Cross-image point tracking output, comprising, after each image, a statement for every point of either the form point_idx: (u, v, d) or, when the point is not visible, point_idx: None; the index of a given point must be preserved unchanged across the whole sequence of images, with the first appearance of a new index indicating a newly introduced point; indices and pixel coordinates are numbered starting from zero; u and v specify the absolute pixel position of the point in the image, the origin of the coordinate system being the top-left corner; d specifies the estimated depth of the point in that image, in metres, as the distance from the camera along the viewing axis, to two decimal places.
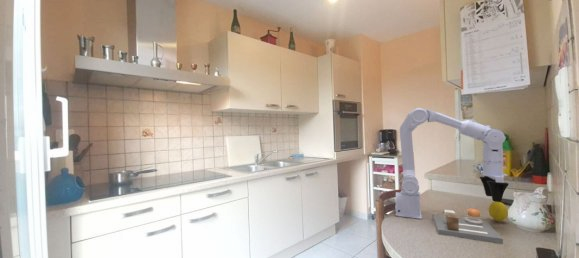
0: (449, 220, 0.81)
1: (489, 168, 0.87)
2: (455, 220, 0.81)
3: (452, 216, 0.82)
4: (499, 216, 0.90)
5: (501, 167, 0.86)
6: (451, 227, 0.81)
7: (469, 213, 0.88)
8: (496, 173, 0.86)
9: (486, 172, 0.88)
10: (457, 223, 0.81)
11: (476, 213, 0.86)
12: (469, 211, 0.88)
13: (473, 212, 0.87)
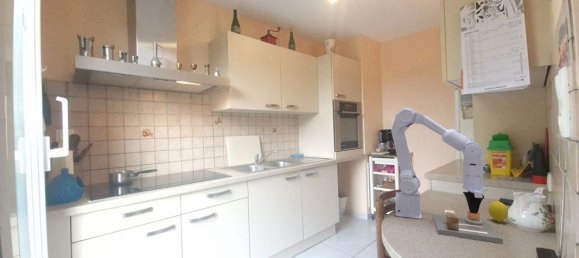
0: (449, 220, 0.81)
1: (469, 182, 0.87)
2: (455, 220, 0.81)
3: (452, 216, 0.82)
4: (499, 216, 0.90)
5: (481, 181, 0.85)
6: (451, 227, 0.81)
7: (469, 216, 0.88)
8: (476, 187, 0.85)
9: (466, 186, 0.88)
10: (457, 223, 0.81)
11: (476, 216, 0.86)
12: (469, 214, 0.88)
13: (473, 215, 0.87)
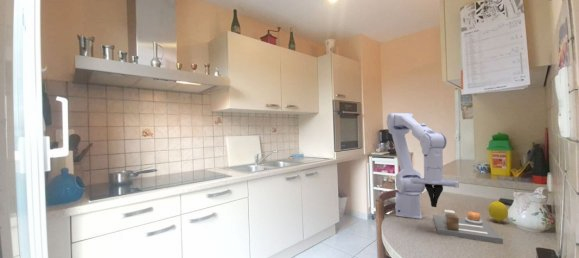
0: (449, 220, 0.81)
1: None
2: (455, 220, 0.81)
3: (452, 216, 0.82)
4: (499, 216, 0.90)
5: (427, 172, 0.84)
6: (451, 227, 0.81)
7: (469, 216, 0.88)
8: (424, 178, 0.86)
9: None
10: (457, 223, 0.81)
11: (476, 216, 0.86)
12: (469, 214, 0.88)
13: (473, 215, 0.87)
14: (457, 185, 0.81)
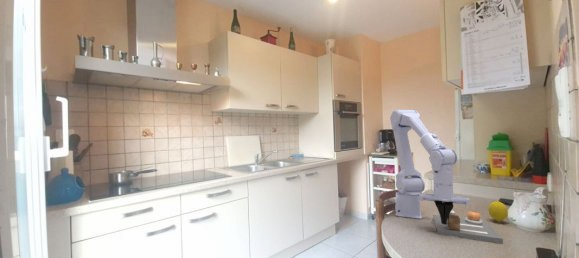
0: (450, 220, 0.81)
1: None
2: (456, 220, 0.81)
3: (453, 216, 0.82)
4: (499, 216, 0.90)
5: (437, 189, 0.83)
6: (452, 227, 0.81)
7: (469, 216, 0.88)
8: (433, 194, 0.85)
9: None
10: (458, 223, 0.80)
11: (476, 216, 0.86)
12: (469, 214, 0.88)
13: (473, 215, 0.87)
14: (468, 203, 0.80)
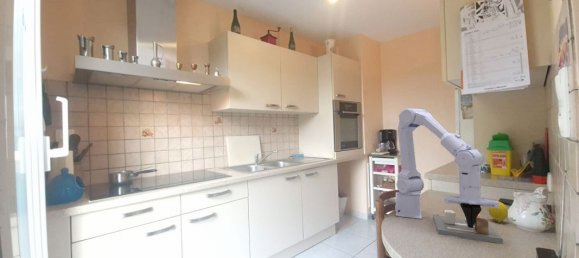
0: (478, 224, 0.78)
1: None
2: (484, 224, 0.77)
3: (481, 219, 0.79)
4: (499, 216, 0.90)
5: (463, 191, 0.80)
6: (480, 231, 0.78)
7: None
8: (459, 196, 0.81)
9: None
10: (487, 227, 0.77)
11: None
12: None
13: None
14: (497, 205, 0.77)
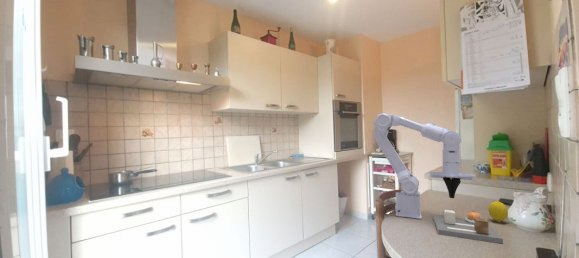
0: (478, 224, 0.78)
1: None
2: (484, 224, 0.77)
3: (481, 219, 0.79)
4: (499, 216, 0.90)
5: (445, 167, 0.93)
6: (480, 231, 0.78)
7: (469, 216, 0.88)
8: None
9: None
10: (487, 227, 0.77)
11: (476, 216, 0.86)
12: (469, 214, 0.88)
13: (473, 215, 0.87)
14: (474, 178, 0.89)
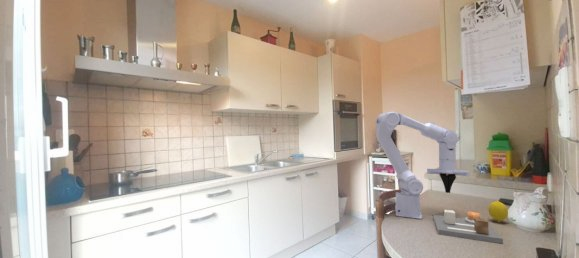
0: (478, 224, 0.78)
1: None
2: (484, 224, 0.77)
3: (481, 219, 0.79)
4: (499, 216, 0.90)
5: (442, 163, 0.99)
6: (480, 231, 0.78)
7: (469, 216, 0.88)
8: (439, 168, 1.01)
9: None
10: (487, 227, 0.77)
11: (476, 216, 0.86)
12: (469, 214, 0.88)
13: (473, 215, 0.87)
14: (468, 174, 0.96)
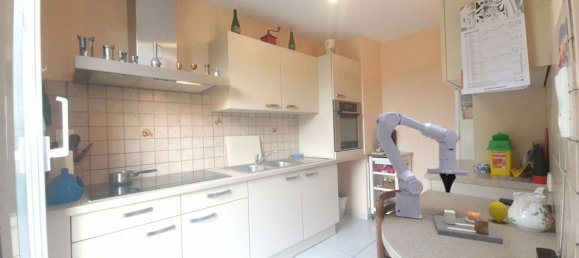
0: (478, 224, 0.78)
1: None
2: (484, 224, 0.77)
3: (481, 219, 0.79)
4: (499, 216, 0.90)
5: (442, 163, 0.99)
6: (480, 231, 0.78)
7: (469, 216, 0.88)
8: (439, 168, 1.01)
9: None
10: (487, 227, 0.77)
11: (476, 216, 0.86)
12: (469, 214, 0.88)
13: (473, 215, 0.87)
14: (468, 174, 0.96)
